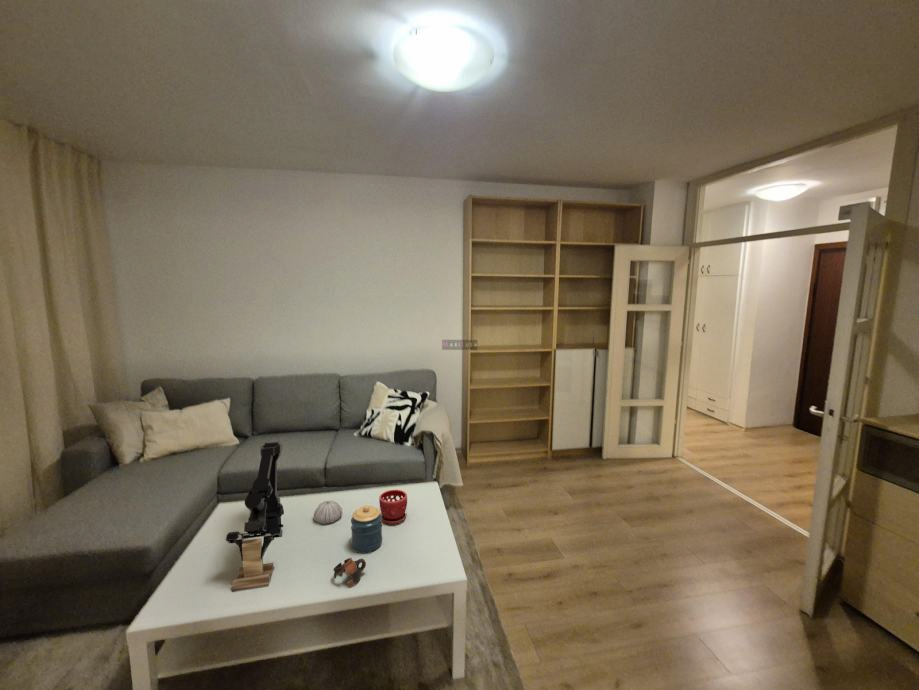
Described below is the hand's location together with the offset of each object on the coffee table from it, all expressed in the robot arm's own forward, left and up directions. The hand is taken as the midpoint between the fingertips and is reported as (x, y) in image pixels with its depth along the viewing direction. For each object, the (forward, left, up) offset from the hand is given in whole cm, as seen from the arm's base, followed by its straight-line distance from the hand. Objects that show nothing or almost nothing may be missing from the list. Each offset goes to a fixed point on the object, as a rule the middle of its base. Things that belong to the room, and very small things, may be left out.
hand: (251, 559), depth 147 cm
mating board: (-1, -1, -9) cm, 9 cm away
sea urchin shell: (-44, -10, -9) cm, 46 cm away
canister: (-39, +20, -9) cm, 45 cm away
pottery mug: (-21, +29, -9) cm, 37 cm away
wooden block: (-1, -1, -7) cm, 7 cm away
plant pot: (-60, +17, -9) cm, 63 cm away
